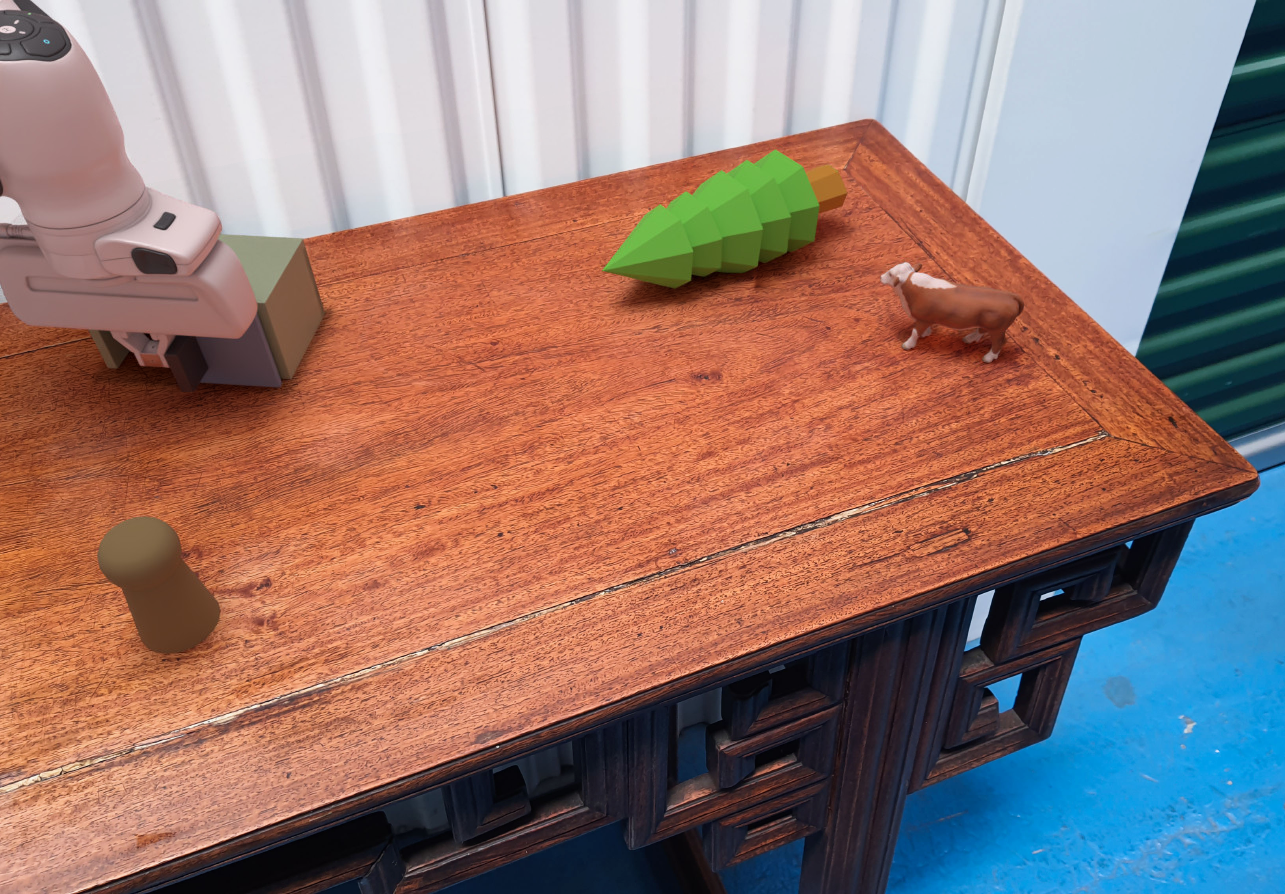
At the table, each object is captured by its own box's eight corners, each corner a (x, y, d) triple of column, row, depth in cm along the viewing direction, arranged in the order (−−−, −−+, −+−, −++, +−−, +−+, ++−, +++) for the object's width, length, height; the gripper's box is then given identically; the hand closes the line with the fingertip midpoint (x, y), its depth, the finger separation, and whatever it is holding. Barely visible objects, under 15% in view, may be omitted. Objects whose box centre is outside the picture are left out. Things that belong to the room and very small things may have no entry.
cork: (157, 678, 72) (96, 587, 64) (132, 622, 75) (72, 529, 67) (238, 636, 74) (189, 543, 66) (210, 583, 78) (161, 489, 70)
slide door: (175, 407, 90) (142, 335, 84) (193, 378, 93) (162, 307, 87) (267, 413, 90) (239, 341, 84) (282, 383, 93) (257, 312, 87)
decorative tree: (860, 133, 102) (619, 218, 89) (871, 241, 107) (644, 337, 94) (787, 132, 111) (559, 209, 98) (800, 232, 116) (584, 317, 103)
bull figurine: (873, 316, 101) (887, 248, 95) (1009, 345, 97) (1032, 276, 92) (864, 342, 98) (878, 274, 92) (1005, 373, 95) (1028, 304, 89)
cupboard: (104, 387, 94) (59, 302, 87) (157, 311, 102) (120, 228, 95) (288, 398, 93) (258, 313, 85) (327, 321, 101) (303, 238, 93)
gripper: (-50, 245, 77) (30, 378, 87) (206, 259, 75) (256, 393, 85) (-5, 201, 81) (66, 332, 91) (237, 214, 80) (282, 346, 90)
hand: (160, 362), depth 88 cm, fingers closed
